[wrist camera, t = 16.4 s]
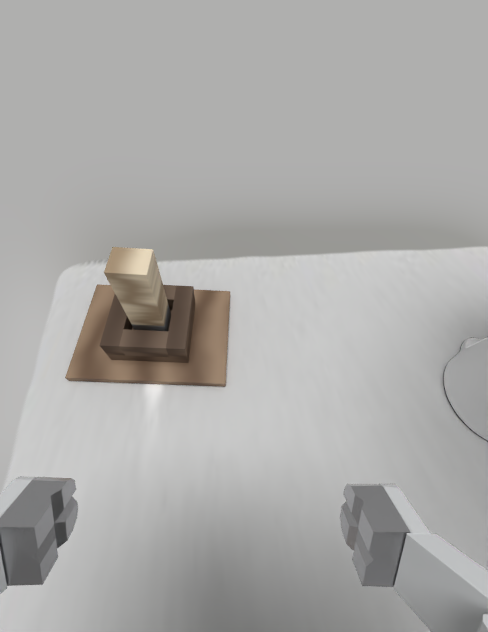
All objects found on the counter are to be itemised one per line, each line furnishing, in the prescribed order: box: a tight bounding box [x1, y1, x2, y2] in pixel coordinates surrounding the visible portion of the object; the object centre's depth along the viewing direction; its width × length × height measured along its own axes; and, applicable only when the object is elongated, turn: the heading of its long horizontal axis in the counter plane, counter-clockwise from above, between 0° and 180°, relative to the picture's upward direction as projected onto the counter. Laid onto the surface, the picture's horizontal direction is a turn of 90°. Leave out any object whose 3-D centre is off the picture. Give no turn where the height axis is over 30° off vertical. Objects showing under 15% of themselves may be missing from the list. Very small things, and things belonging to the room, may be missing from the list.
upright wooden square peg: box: [104, 247, 171, 331], centre depth 38 cm, size 4×4×14 cm
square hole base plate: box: [65, 285, 230, 387], centre depth 44 cm, size 22×16×6 cm
